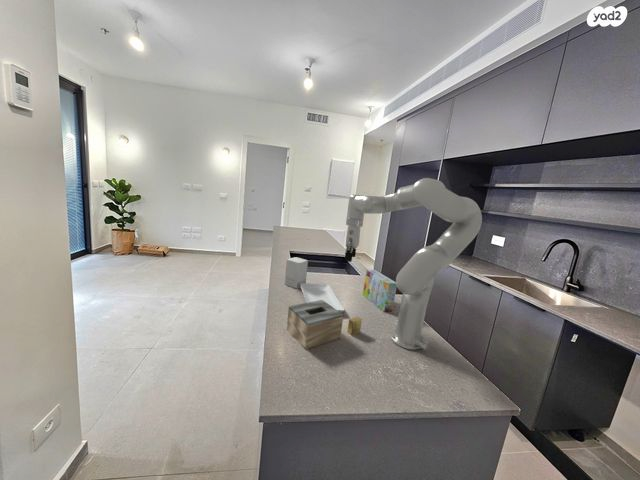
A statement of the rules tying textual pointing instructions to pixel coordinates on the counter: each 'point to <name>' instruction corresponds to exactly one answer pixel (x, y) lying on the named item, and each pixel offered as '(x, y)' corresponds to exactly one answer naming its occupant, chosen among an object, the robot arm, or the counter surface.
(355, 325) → the block
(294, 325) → the box
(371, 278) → the snack box
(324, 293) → the tray
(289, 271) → the supplement box
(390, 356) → the counter surface
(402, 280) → the robot arm
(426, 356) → the counter surface
